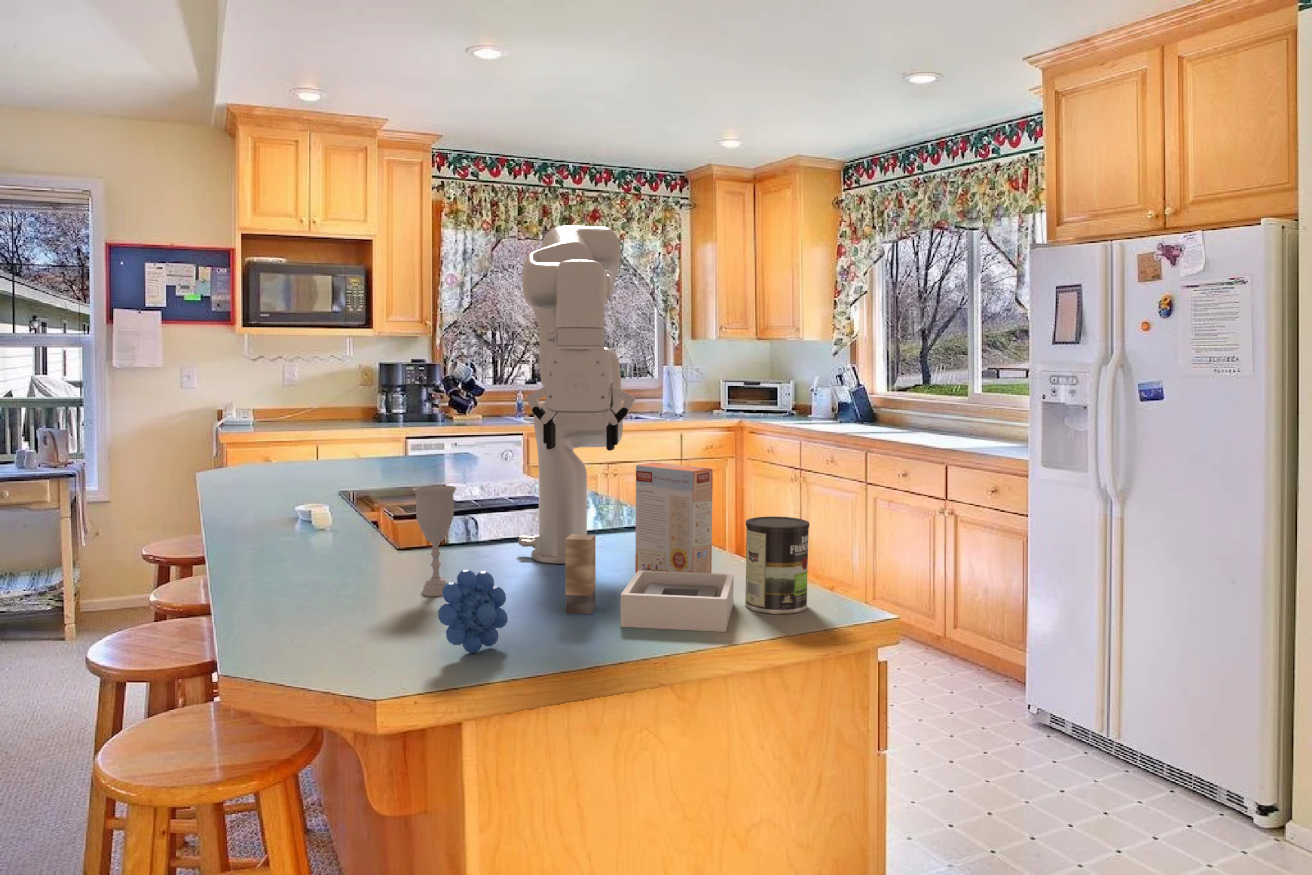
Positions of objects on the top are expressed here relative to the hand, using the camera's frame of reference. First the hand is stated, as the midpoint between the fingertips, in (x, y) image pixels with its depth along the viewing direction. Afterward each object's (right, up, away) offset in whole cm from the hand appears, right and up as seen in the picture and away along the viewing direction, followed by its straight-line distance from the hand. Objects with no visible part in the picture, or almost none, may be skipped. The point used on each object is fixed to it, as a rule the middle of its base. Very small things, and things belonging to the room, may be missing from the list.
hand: (580, 449), depth 155 cm
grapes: (-13, -28, -19) cm, 37 cm away
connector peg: (0, -26, +3) cm, 26 cm away
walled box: (+16, -26, 0) cm, 31 cm away
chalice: (-26, -25, +14) cm, 39 cm away
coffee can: (+32, -26, +6) cm, 41 cm away
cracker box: (+15, -24, +24) cm, 37 cm away
